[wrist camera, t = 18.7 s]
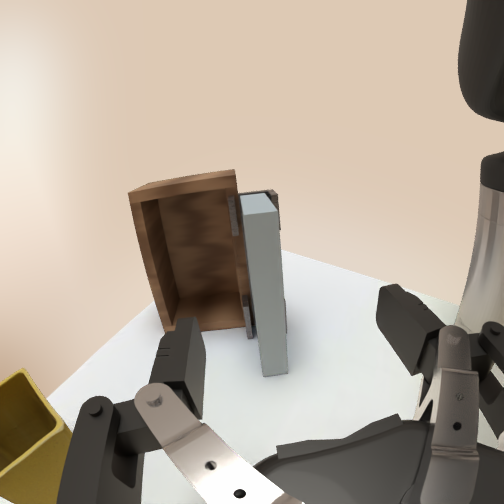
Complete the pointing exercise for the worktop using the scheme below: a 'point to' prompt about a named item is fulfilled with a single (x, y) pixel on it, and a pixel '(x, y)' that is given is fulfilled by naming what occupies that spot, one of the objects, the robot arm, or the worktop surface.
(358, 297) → the worktop surface
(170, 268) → the cabinet
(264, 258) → the door
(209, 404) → the worktop surface
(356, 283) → the worktop surface
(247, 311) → the hinge clips
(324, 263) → the worktop surface
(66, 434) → the flower pot
